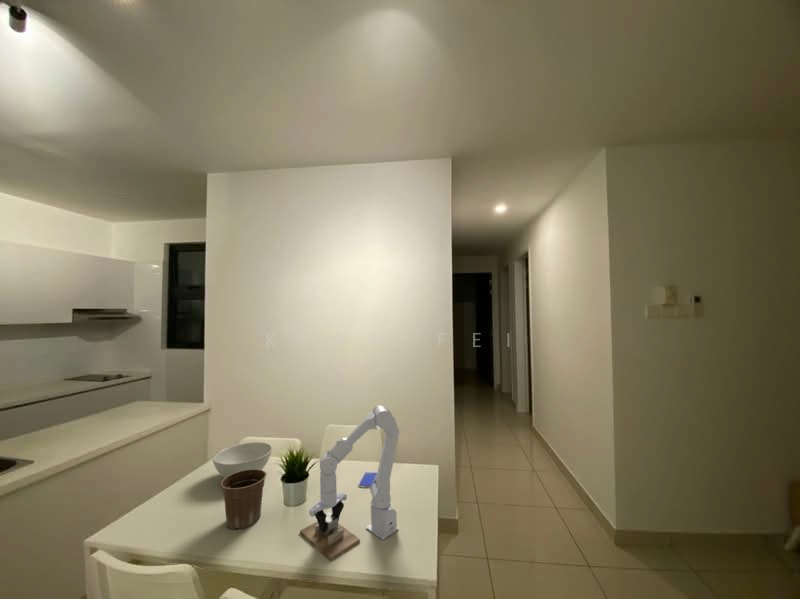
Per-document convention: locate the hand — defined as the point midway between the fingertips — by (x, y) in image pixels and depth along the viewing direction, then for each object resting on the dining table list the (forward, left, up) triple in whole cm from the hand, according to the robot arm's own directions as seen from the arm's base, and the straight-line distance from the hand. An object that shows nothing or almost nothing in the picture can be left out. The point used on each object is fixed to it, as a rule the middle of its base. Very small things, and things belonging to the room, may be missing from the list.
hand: (329, 527), depth 117 cm
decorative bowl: (+71, +4, -4) cm, 71 cm away
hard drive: (+20, -36, -4) cm, 41 cm away
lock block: (0, 0, -2) cm, 2 cm away
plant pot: (+34, +17, -4) cm, 38 cm away
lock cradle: (0, 0, -3) cm, 3 cm away
